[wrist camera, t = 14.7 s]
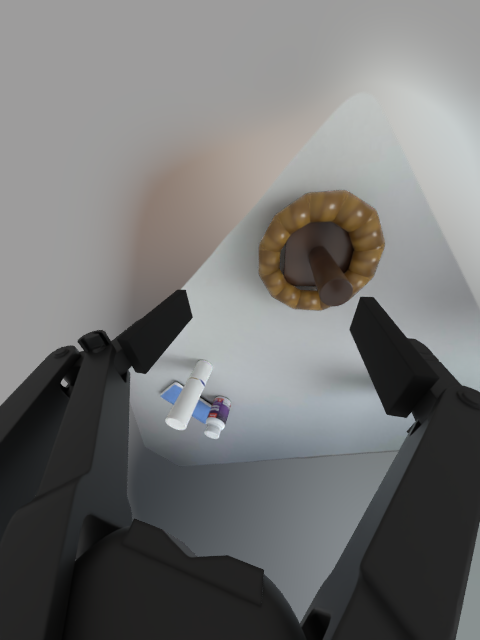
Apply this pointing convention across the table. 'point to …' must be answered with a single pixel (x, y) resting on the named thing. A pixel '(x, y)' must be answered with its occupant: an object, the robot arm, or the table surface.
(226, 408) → the pill bottle
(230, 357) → the table surface
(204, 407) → the tablet
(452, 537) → the robot arm
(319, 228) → the post
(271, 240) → the ring
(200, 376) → the tube
